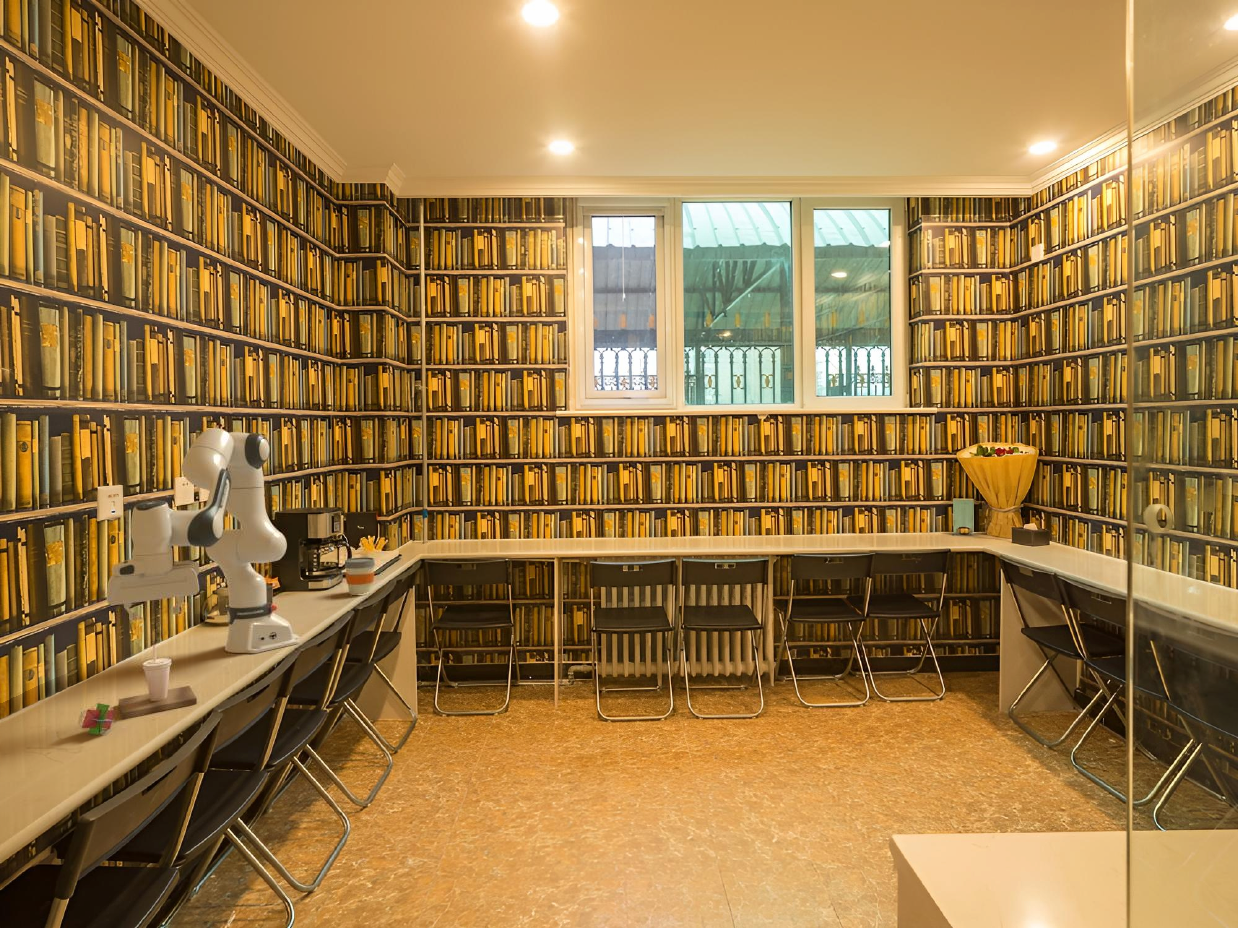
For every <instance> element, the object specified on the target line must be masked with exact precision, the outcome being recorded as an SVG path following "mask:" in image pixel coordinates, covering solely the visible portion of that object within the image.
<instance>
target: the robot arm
mask: <svg viewBox="0 0 1238 928" xmlns="http://www.w3.org/2000/svg"><path fill="white" fill-rule="evenodd" d="M270 449H271V447H270V443H269V441H268V439H267V438H266V436H265V435H263V434H260V433H256V432H250V433H249V432H240V431H238V432H237V431H236V432H234V431H230V432H227V431H226V430H224V429H222V428H218V427H212V428H208V429H205V430H204V431H202V432H201V433H200V434H199V436H198V437H197V438H196V439H195V441H194V442H192V444H191V446H190V447H189V449H188V450H187V453H186V455H185V456H184V458H183V460H182V463H181V471H182V474H183V476H184V478H185V479H186V480H187V481H188V482H189V483H190V484H192V485H193V486H194V487H197V488H200V489H202V490H206V491H209V492H208V497H207V501H206V503H205V506H204V507H203V508H199V509H196V510H193V509H192V510H191V509H190V510H180V509H179V510H177V509H172V508H171V507H169V504H168V502H167V501H164V500H158V499H156V500H155V499H154V500H148V501H143V502H140V503H137V504H136V505H135V506H134V507H133V509H132V510H133V511H132V516H131V522H130V523H131V525H130V528H131V529H130V531H131V532H130V535H131V540H132V542H133V548H132V551H131V552H132V553H131V556H132V557H131V558H129V559H126V560H123V561H121V562H118V563H115V564H113V565H112V567H111V574H112V575H111V576H110V577H109V579H108V581H107V588H106V602H107V604H109V605H110V606H117V605H123V607H124V610H125V611H126V612H127V613H128V614H129V616H128V617H129V621H135V620H138V617H137V616H138V613H137V611H132V609H131V607H132V604H133V603H140V602H148V601H156V600H163V599H173V598H176V600H177V602H176V604H175V606H172V607H171V609H172V611H171V612H172V614H173V615H177V614H180V613H181V611H180V609H181V608H180V607H181V606H182V605H183V603H184V601H185V597H186V596H188V597H189V596H194V595H197V594H198V593H199V592H200V585H199V579H198V575H199V573H200V565H199V563H198V562H196V561H194V560H192V559H187V560H178V561H174V559H173V557H174V554H173V548H172V547H199V548H205V552H206V554H207V557H209V559H210V560H212V561H213V562H214V563H215V564H216V565H217V566H218V567H219V569H220V570H221V571H222V573H223V575H224V577H225V581H226V583H227V591H228V592H227V593H228V604H229V605H228V606H227V623H228V632H227V639H226V644H225V647H224V651H225V652H228V653H235V654H236V653H238V654H240V653H241V654H243V653H244V654H245V653H247V654H258V653H263V652H267V651H270V650H276V649H280V648H284V647H288V646H293V645H297V644H299V643H301V637H300V636H299V635H298V634H297V633H294V632H293V628H292V625H291V623H290V622H289V621H288V620H287V619H285V618H283V617H282V616H280V615H278V614H276V613H274V612H275V611H277V610H278V605H276V604H274V603H272V602H269V601H267V600H268V599H267V597H268V596H267V581H266V579H265V577H264V576H263V575H262V574H260V573H258V572H257V571H256V570H255V569H254V567H252V564H266V563H271V562H272V563H273V562H277V561H279V560H281V559H282V558H283V557H284V556H285V554H286V551H287V548H288V547H287V546H288V544H287V539H286V537H285V535H284V534H283V533H282V532H280V531H279V530H278V529H277V527H275V526H274V525H273V524H272V522H271V521H270V519H269V515H268V514H267V510H266V502H265V481H264V480H265V478H264V473H263V465H264V464H265V463H266V462H267V461H268V459H269V456H270V453H271V450H270ZM226 511H227V512H226ZM226 513H228V514H229V516H231V517H233V518H235V519H236V520H238V522H239V524H240V525H241V527H242V528H241V529H236V528H234V529H233V528H230V529H224V528H225V527H224V526H225V517H226V516H225V515H226Z"/></svg>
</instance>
